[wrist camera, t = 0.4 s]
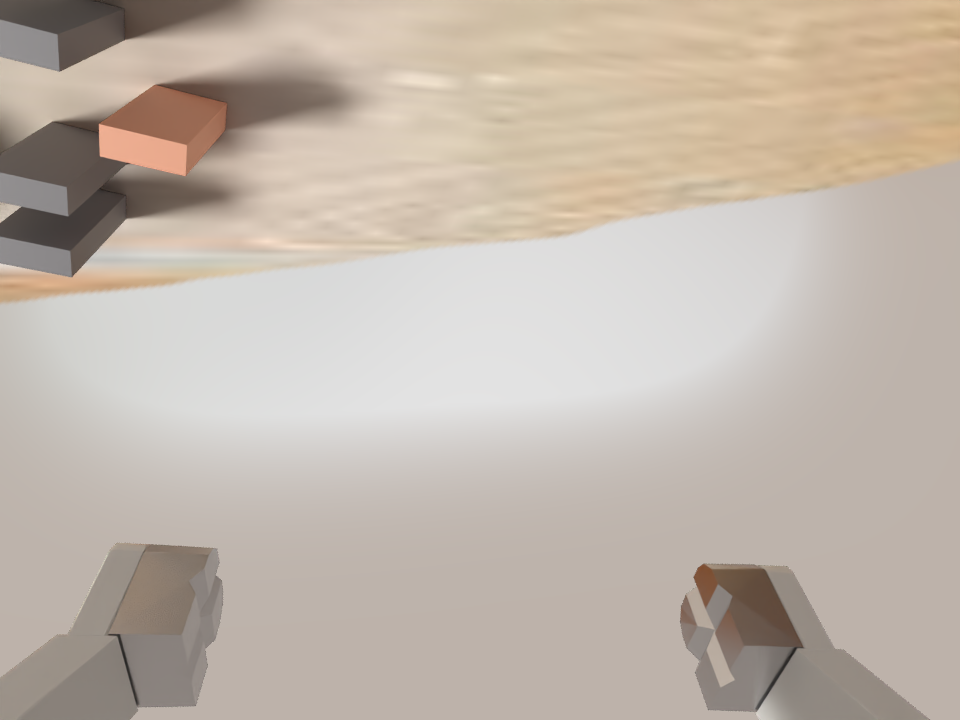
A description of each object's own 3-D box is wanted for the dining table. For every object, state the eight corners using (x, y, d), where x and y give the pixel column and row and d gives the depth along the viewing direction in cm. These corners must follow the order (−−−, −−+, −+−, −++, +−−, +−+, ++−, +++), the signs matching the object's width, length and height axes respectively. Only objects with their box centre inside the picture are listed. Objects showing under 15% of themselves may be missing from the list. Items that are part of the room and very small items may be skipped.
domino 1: (43, -14, 45) (-44, 8, 37) (124, 8, 46) (57, 34, 38) (45, 19, 46) (-39, 47, 38) (124, 40, 47) (59, 71, 39)
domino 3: (56, 180, 52) (-14, 233, 44) (125, 195, 53) (70, 251, 45) (57, 204, 53) (-11, 261, 45) (126, 218, 54) (71, 277, 46)
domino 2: (52, 121, 50) (-23, 167, 42) (125, 139, 51) (66, 187, 43) (54, 148, 51) (-19, 198, 43) (125, 164, 52) (68, 216, 44)
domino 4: (154, 84, 49) (98, 123, 41) (227, 103, 50) (186, 145, 42) (154, 112, 50) (99, 156, 42) (225, 130, 51) (185, 176, 43)
